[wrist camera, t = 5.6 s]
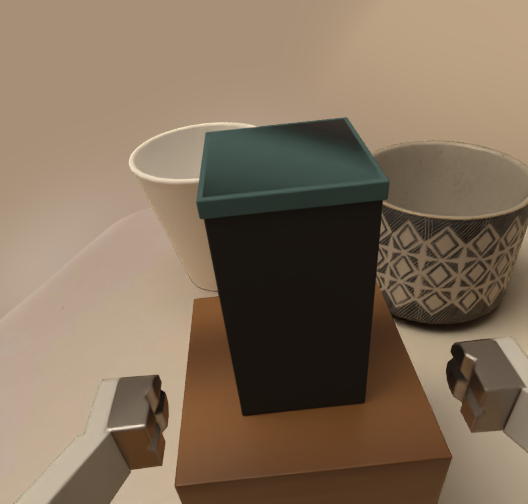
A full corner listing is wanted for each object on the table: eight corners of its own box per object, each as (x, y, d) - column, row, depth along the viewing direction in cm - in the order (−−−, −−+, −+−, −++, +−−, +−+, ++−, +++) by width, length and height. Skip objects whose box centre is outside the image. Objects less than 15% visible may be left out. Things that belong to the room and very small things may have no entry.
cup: (152, 315, 37) (110, 187, 30) (173, 238, 47) (144, 128, 40) (288, 304, 37) (279, 172, 30) (281, 229, 46) (272, 116, 39)
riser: (417, 563, 21) (453, 457, 15) (216, 585, 21) (173, 486, 15) (366, 391, 29) (376, 279, 23) (220, 407, 29) (193, 298, 23)
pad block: (368, 405, 17) (390, 180, 11) (239, 419, 17) (195, 201, 11) (341, 314, 21) (347, 116, 16) (238, 325, 21) (205, 131, 16)
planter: (458, 361, 31) (491, 242, 24) (320, 286, 38) (319, 181, 32) (527, 275, 37) (566, 164, 31) (398, 226, 45) (409, 129, 39)
